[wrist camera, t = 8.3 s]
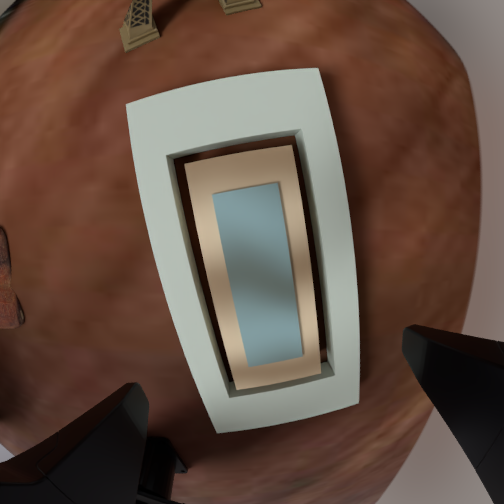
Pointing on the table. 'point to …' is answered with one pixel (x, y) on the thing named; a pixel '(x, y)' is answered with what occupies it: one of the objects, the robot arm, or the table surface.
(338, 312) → the pale grey open frame
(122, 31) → the eiffel tower
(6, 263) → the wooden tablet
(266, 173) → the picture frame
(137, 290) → the table surface
